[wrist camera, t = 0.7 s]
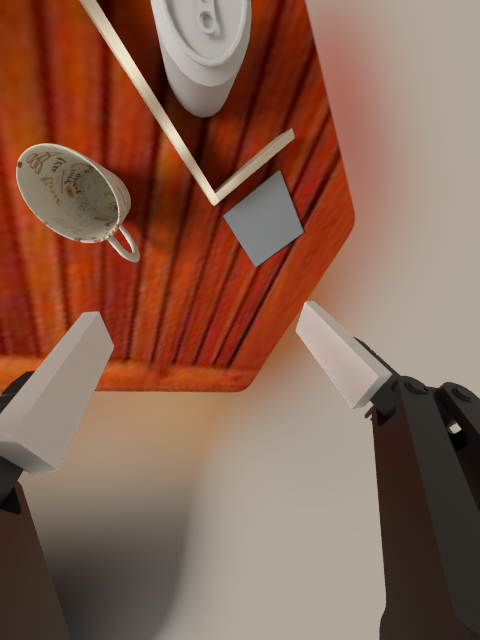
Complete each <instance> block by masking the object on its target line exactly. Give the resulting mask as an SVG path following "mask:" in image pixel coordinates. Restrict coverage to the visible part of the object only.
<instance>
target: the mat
mask: <svg viewBox="0 0 480 640" xmlns="http://www.w3.org/2000/svg"><path fill="white" fill-rule="evenodd" d="M223 217H224V219H225V220H226V222H227V223H228V225H229V227H230V228H231V230H232V231H233V233H234V234H235V236H236V238H237V239H238V241H239V242H240V244H241V245H242V247H243V249H244V250H245V252H246V253H247V255H248V256H249V258H250V260H251V261H252V263H253V264H254V266H255V267H257V266H258V265H260V264H261V263H262V262H264V261H265V260H266V259H268V258H269V257H271V256H272V255H273V254H275V253H276V252H277V251H279V250H280V249H282V248H283V247H284V246H286V245H287V244H288V243H290V242H291V241H293V240H294V239H295V238H297V237H298V236H299V235H301V234H302V233H304V232H303V229H302V227H301V224H300V221H299V219H298V216H297V214H296V211H295V208H294V206H293V203H292V200H291V198H290V195H289V193H288V190H287V187H286V185H285V182H284V180H283V177H282V174H281V172H280V170H278V171H276V172H275V173H274V174H273V175H272V176H270V177H269V178H268V179H267V180H265V181H264V182H263V183H262V184H261V185H259V186H258V187H257V188H256V189H255V190H253V191H252V192H251V193H250V194H248V195H247V196H246V197H245V198H244V199H242V200H241V201H240V202H239V203H237V204H236V205H235V206H234V207H233V208H231V209H230V210H229V211H228V212H227V213H225V214H224V215H223Z"/></svg>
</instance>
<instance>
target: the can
mask: <svg viewBox="0 0 480 640" xmlns="http://www.w3.org/2000/svg"><path fill="white" fill-rule="evenodd" d="M151 5H152V10H153V15H154V19H155V24H156V29H157V33H158V38H159V43H160V47H161V52H162V57H163V61H164V66H165V70H166V74H167V78H168V81H169V85H170V87H171V89H172V91H173V93H174V95H175V97H176V99H177V100H178V101H179V102H180V104H181V105H182V106H183V107H184V109H186V110H187V111H189V112H190V113H191V114H193V115H195V116H199V117H203V118H204V117H209V116H213V115H214V114H215V113H217V112H218V111H219V110H220V109H221V108H222V106H223V104H224V103H225V101H226V99H227V97H228V95H229V92H230V90H231V88H232V85H233V83H234V81H235V78H236V76H237V74H238V71H239V69H240V67H241V64H242V62H243V59H244V56H245V53H246V49H247V46H248V43H249V38H250V28H251V17H252V12H251V0H151Z"/></svg>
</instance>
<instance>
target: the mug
mask: <svg viewBox="0 0 480 640" xmlns="http://www.w3.org/2000/svg"><path fill="white" fill-rule="evenodd" d="M16 177H17V183H18V186H19V189H20V192H21V194H22V196H23V198H24V200H25V202H26V203H27V205H28V206H29V208H30V209H31V210H32V211H33V213H34V214H35V215H36V216H37V217H38V218H39V219H40V220H41V221H42V222H43V223H44V224H45V225H47V226H48V227H49V228H51V229H52V230H54V231H55V232H57V233H58V234H60V235H62V236H64V237H67V238H69V239H72V240H75V241H79V242H85V243H96V242H101V241H104V240H106V239H107V240H108V241H109V242H110V243H111V245H112V246H113V247H114V248H115V249H116V250H117V252H118V253H119V254H120V255H121V256H123V257H124V258H126V259H127V260H129V261H132V262H137V261H138V260H139V259H140V254H139V250H138V248H137V246H136V244H135V242H134V240H133V238H132V237H131V235H130V234H129V233H128V232H127V230H126V229H125V228H124V227H123V226H122V225H121V224H122V222H123V220H124V219H125V217H126V216H127V214H128V212H129V210H130V207H131V198H130V194H129V192H128V190H127V188H126V186H125V185H124V183H123V182H122V181H121V180H120V179H119V178H118V177H117V176H116V175H115V174H113V173H112V172H110V171H109V170H107V169H105V168H104V167H102V166H100V165H99V164H97V163H96V162H94V161H92V160H91V159H89V158H88V157H86V156H84V155H83V154H81V153H79V152H77V151H75V150H73V149H70V148H68V147H65V146H61V145H57V144H48V143H46V144H38V145H34V146H32V147H30V148H28V149H27V150H25V151H24V152H23V154H22V155H21V156H20V158H19V160H18V163H17V168H16ZM118 228H119V229H120V230H121V232H122V233H123V235H124V236H125V238H126V239H127V241H128V242H129V244H130V246H131V248H132V253H129V252H128V251H126V250H125V249H124V248H123V247H122V246H121V245H120V244H119V242H118V241H117V240H116V239H115V237H114V236H113V234H114V233H115V232H116V231H117V230H118Z"/></svg>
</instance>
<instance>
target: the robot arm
mask: <svg viewBox="0 0 480 640" xmlns="http://www.w3.org/2000/svg"><path fill="white" fill-rule="evenodd" d="M296 332H297V334H298V335H299V336H300V338H301V339H302V340H303V342H304V343H305V345H306V346H307V348H308V349H309V350H310V351H311V353H312V354H313V356H314V357H315V359H316V360H317V361H318V363H319V364H320V365H321V367H322V368H323V369H324V371H325V372H326V373H327V375H328V376H329V378H330V379H331V380H332V382H333V383H334V385H335V386H336V387H337V389H338V390H339V392H340V393H341V394H342V396H343V397H344V398H345V400H346V401H347V402H348V404H349V405H350V406H351V408H352V409H356V408H361V407H364V406H365V405H366V404H367V403H368V402H369V401H371V402H372V403H373V404H374V405H373V406H372V407H371V408H370V410H369V411H368V412H367V413H366V414H365V418H368V417H369V415H371V414H372V418H371V419H370V420H371V421H372V425H373V435H374V449H375V460H376V461H375V462H376V472H377V473H376V475H377V486H378V499H379V512H380V524H381V537H382V550H383V562H384V575H385V586H386V608H385V611H384V613H383V615H382V618H381V622H380V640H480V399H479V398H478V397H477V396H476V395H475V394H474V393H472V392H471V391H469V390H468V389H467V388H465V387H463V386H461V385H458V384H455V383H452V382H446V383H444V384H443V385H442V386H440V387H439V388H434V387H427V386H425V385H424V384H423V383H421V382H420V381H418V380H416V379H414V378H412V377H408V376H400V375H399V374H398V373H397V372H396V371H394V370H393V369H392V368H391V367H390V366H389V365H388V364H387V363H386V362H384V361H383V360H382V359H381V358H380V357H379V356H378V355H376V353H374V351H372V350H370V348H369V347H368V346H367V345H366V344H365V343H364V342H362V341H360V340H359V339H357V338H355V337H352V336H351V335H350V334H349V333H348V332H347V331H346V330H345V329H344V328H343V327H342V326H340V325H339V324H338V323H337V322H336V321H335V320H334V319H333V318H332V317H331V316H330V315H328V313H327V312H325V311H324V310H323V309H322V308H321V307H320V306H319V305H318V304H317V303H316V302H314V301H308V302H305V303H304V306H303V310H302V313H301V316H300V319H299V322H298V325H297V328H296ZM113 349H114V345H113V343H112V341H111V338H110V336H109V334H108V331H107V329H106V327H105V324H104V322H103V320H102V318H101V315H100V313H99V312H83V313H82V315H81V316H80V317H79V318H78V319H77V321H76V322H75V323H74V324H73V326H72V327H71V328H70V329H69V330H68V332H67V333H66V334H65V335H64V337H63V338H62V339H61V340H60V342H59V343H58V344H57V345H56V346H55V348H54V349H53V350H52V351H51V353H50V354H49V355H48V356H47V357H46V359H45V360H44V361H43V362H42V364H41V365H40V366H39V367H38V368H37V370H36V371H30V372H26V373H24V374H23V375H22V376H20V377H19V378H17V379H16V380H15V381H13V382H12V383H11V384H10V385H9V386H8V387H7V388H6V390H5V391H4V392H3V393H2V394H1V397H0V640H71V639H70V636H69V633H68V630H67V626H66V623H65V620H64V617H63V614H62V611H61V608H60V604H59V601H58V598H57V595H56V592H55V589H54V586H53V582H52V580H51V576H50V573H49V570H48V567H47V564H46V561H45V558H44V554H43V551H42V548H41V545H40V542H39V539H38V536H37V532H36V529H35V526H34V523H33V520H32V517H31V514H30V511H29V508H28V505H27V502H26V498H25V495H24V492H23V489H22V486H21V485H20V483H19V482H18V481H17V480H18V478H19V477H20V475H21V473H22V472H23V470H24V471H26V472H28V473H29V474H31V475H38V474H43V473H48V472H53V471H57V470H58V469H59V467H60V465H61V463H62V461H63V458H64V456H65V454H66V452H67V450H68V447H69V445H70V443H71V441H72V439H73V437H74V434H75V432H76V430H77V428H78V426H79V423H80V421H81V419H82V417H83V415H84V412H85V410H86V408H87V406H88V404H89V401H90V399H91V397H92V395H93V393H94V390H95V388H96V386H97V384H98V382H99V379H100V377H101V375H102V373H103V371H104V368H105V366H106V364H107V362H108V360H109V357H110V355H111V353H112V351H113ZM456 423H458V425H459V426H460V427H461V429H462V430H460V431H459V432H457V433H455V434H454V433H453V432H452V431H451V430H450V428H449V427H451V426H452V425H454V424H456Z"/></svg>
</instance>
